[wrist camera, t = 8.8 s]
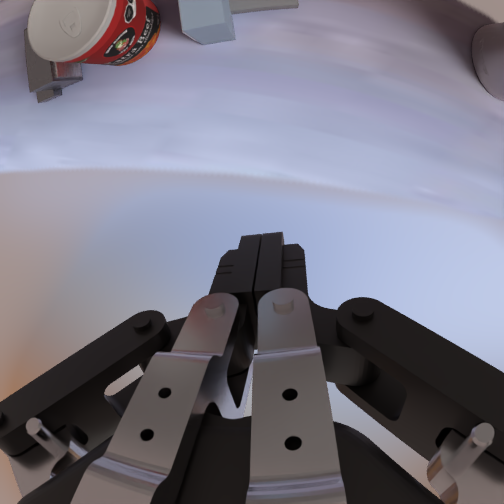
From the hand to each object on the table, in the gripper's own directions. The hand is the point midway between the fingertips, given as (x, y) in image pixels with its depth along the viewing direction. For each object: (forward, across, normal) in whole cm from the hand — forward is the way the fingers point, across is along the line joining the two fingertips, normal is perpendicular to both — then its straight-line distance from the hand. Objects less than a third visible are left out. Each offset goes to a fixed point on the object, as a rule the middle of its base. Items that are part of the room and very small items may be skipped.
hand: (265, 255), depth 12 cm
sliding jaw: (+20, +1, -15) cm, 25 cm away
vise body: (+19, +20, -15) cm, 31 cm away
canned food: (+20, +12, -15) cm, 28 cm away
